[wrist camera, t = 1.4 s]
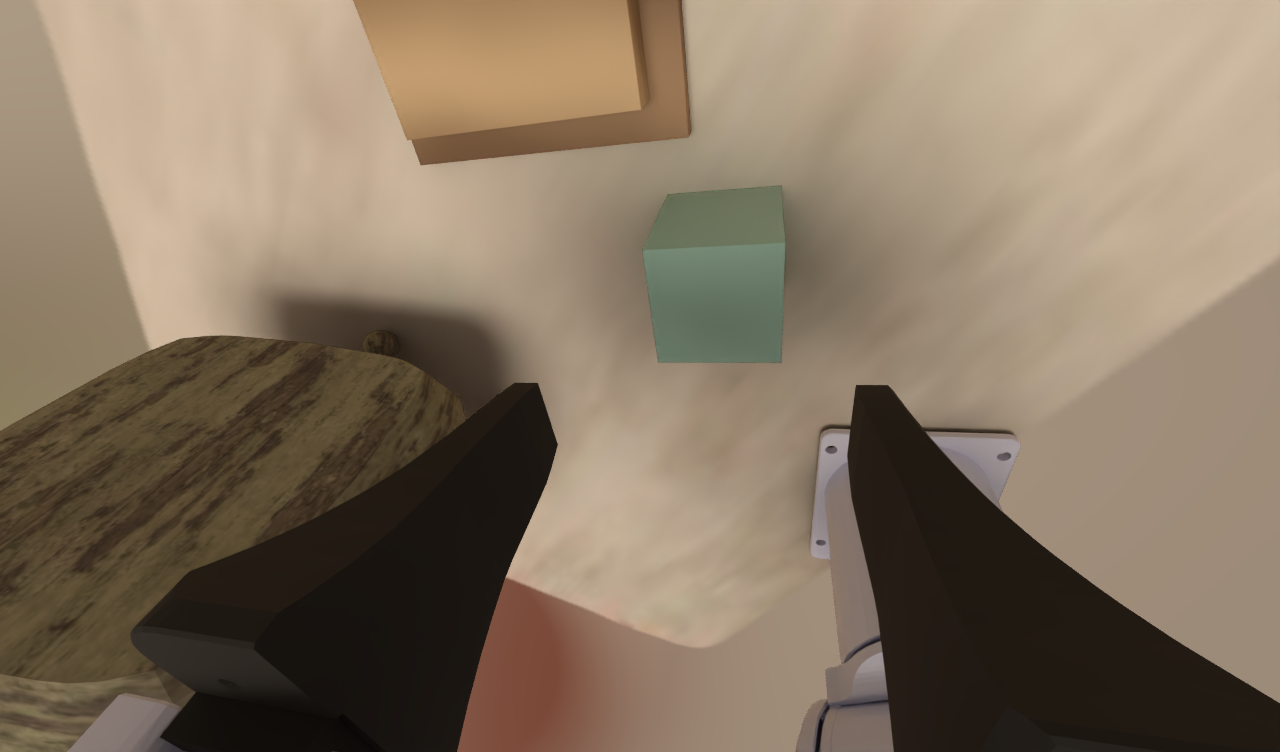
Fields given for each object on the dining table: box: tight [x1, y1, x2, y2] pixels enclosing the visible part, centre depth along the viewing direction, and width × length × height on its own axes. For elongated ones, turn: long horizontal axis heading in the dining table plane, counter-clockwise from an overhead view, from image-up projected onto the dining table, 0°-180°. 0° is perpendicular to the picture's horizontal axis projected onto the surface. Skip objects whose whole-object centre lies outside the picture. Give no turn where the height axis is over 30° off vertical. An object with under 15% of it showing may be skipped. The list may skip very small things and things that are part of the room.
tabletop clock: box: [0, 330, 466, 752], centre depth 17 cm, size 14×9×25 cm, turn 90°
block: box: [642, 186, 785, 363], centre depth 18 cm, size 4×4×5 cm
